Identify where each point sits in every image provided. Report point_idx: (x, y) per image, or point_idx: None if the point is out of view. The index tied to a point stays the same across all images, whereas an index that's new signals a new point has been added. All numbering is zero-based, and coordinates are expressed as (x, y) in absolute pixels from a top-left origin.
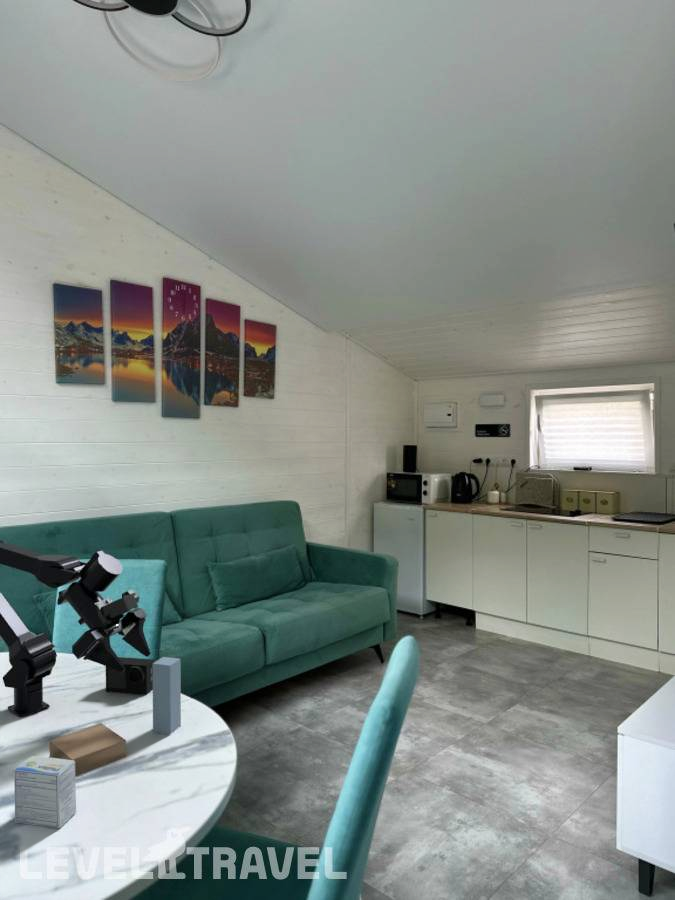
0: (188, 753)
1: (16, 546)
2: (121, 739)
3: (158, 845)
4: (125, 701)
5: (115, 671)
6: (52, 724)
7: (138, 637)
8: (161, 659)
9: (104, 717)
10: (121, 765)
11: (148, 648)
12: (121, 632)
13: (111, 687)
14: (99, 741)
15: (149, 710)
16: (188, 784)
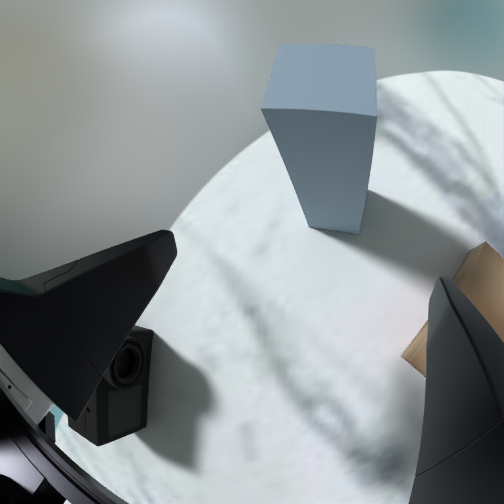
0: (425, 130)
1: None
2: (484, 254)
3: None
4: (187, 373)
5: (112, 417)
6: (320, 493)
7: (75, 303)
8: (303, 99)
9: (281, 398)
10: (498, 243)
11: (140, 239)
12: (42, 430)
13: (139, 417)
14: (499, 307)
15: (235, 293)
16: (496, 114)
